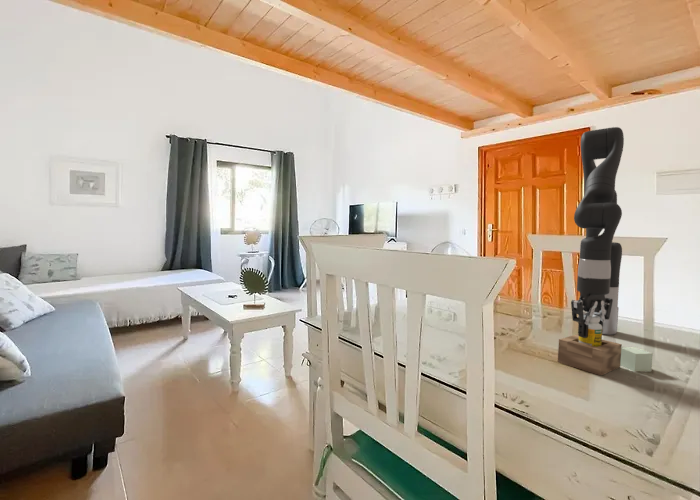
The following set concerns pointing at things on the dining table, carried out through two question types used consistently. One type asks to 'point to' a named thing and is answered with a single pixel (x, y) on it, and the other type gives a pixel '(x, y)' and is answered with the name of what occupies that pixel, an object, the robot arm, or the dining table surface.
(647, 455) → the dining table surface
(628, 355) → the green cube
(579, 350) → the brown open box
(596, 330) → the supplement bottle
